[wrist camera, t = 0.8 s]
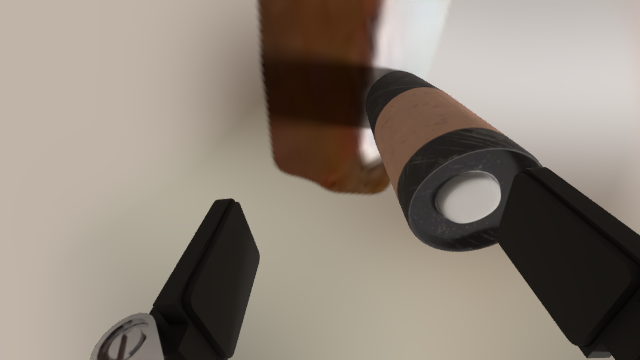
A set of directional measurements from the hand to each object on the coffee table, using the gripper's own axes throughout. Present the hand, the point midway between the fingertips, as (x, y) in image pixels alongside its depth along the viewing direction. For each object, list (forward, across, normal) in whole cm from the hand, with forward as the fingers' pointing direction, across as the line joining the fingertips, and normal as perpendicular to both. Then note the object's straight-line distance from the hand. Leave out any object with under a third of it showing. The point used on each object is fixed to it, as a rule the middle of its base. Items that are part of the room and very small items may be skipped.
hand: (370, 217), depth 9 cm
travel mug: (+25, -6, +4) cm, 26 cm away
